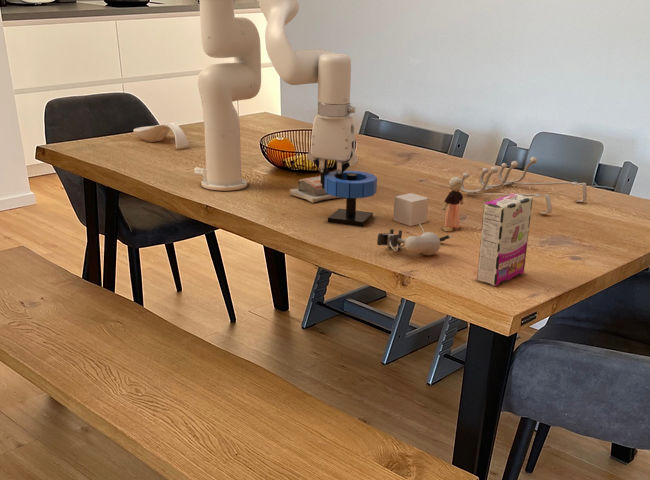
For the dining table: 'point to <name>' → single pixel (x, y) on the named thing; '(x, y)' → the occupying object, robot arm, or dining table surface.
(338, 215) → the peg stand
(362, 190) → the tape
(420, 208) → the white cube
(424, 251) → the clip-on lamp
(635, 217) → the dining table surface
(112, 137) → the dining table surface
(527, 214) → the candy bar box
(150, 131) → the spoon rest
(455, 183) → the grandmother figurine
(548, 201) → the over door rack
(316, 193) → the packaged product
